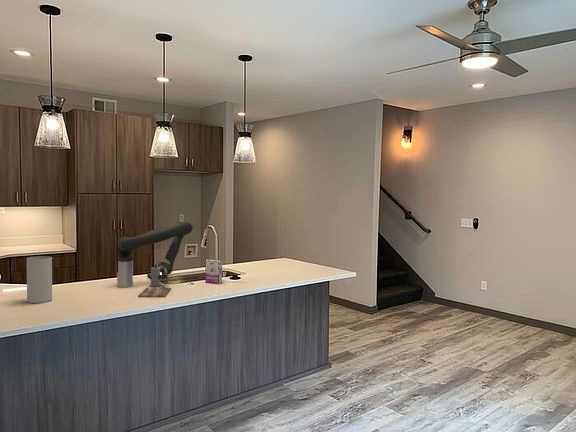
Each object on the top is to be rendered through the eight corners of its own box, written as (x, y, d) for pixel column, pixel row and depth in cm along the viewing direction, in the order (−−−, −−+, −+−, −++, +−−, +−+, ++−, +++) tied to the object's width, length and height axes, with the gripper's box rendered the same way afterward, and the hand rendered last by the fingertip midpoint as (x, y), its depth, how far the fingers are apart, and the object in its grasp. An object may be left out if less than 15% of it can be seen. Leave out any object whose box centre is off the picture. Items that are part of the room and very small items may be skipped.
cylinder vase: (49, 303, 240) (48, 259, 239) (24, 304, 237) (23, 259, 235) (54, 297, 252) (54, 256, 251) (30, 298, 249) (30, 256, 247)
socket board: (138, 297, 258) (138, 289, 258) (146, 289, 278) (146, 282, 278) (165, 297, 260) (165, 289, 259) (171, 289, 280) (171, 282, 279)
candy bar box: (222, 283, 304) (222, 260, 303) (218, 284, 300) (219, 261, 299) (208, 281, 308) (209, 259, 307) (205, 282, 303) (205, 260, 302)
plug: (150, 290, 266) (151, 263, 265) (152, 288, 271) (152, 262, 270) (158, 290, 267) (158, 263, 266) (159, 288, 271) (160, 262, 270)
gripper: (149, 267, 282) (142, 272, 265) (171, 267, 283) (166, 272, 266) (149, 278, 282) (142, 283, 265) (171, 278, 283) (166, 284, 266)
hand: (154, 278), depth 266 cm, fingers closed on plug, 4 cm apart
